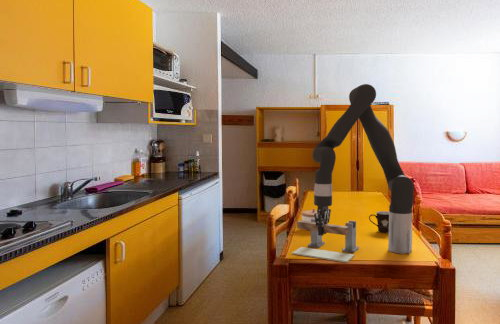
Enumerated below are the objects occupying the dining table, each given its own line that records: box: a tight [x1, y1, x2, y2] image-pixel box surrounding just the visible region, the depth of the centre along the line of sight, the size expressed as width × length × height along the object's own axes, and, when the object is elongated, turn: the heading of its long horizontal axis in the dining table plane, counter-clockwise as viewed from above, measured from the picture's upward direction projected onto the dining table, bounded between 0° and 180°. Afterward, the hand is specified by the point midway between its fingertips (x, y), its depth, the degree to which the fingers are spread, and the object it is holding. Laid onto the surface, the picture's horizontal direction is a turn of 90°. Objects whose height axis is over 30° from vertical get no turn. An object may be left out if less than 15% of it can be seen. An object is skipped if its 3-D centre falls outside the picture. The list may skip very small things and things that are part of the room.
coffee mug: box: [368, 210, 389, 234], centre depth 217 cm, size 12×9×10 cm
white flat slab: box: [291, 246, 355, 263], centre depth 176 cm, size 24×10×1 cm, turn 60°
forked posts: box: [307, 219, 360, 254], centre depth 187 cm, size 21×8×12 cm, turn 60°
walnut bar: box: [296, 220, 349, 236], centre depth 176 cm, size 22×3×3 cm, turn 59°
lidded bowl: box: [301, 208, 317, 232], centre depth 223 cm, size 13×13×11 cm
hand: (322, 234), depth 176 cm, fingers closed on walnut bar, 3 cm apart
